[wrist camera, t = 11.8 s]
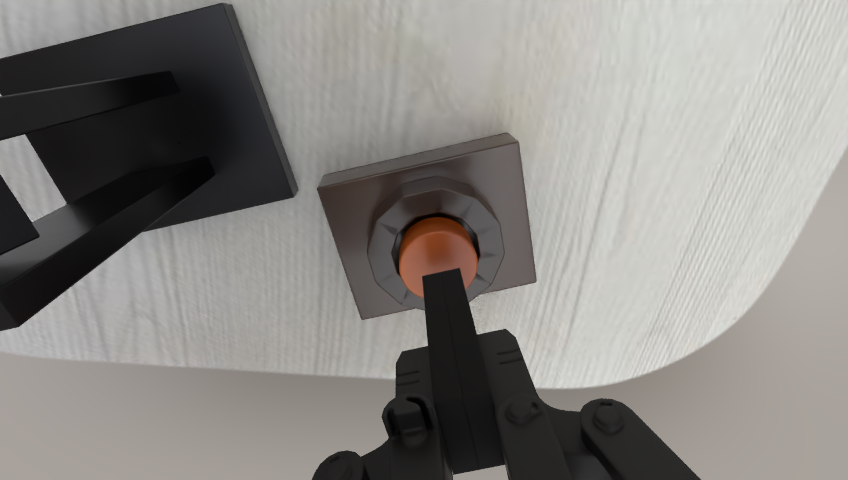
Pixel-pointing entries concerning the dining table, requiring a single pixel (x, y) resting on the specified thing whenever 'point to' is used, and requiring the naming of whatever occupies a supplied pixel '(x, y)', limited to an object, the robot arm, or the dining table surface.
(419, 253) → the button
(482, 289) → the button block
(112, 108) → the switch bracket
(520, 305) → the dining table surface
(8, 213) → the lever
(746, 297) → the dining table surface
